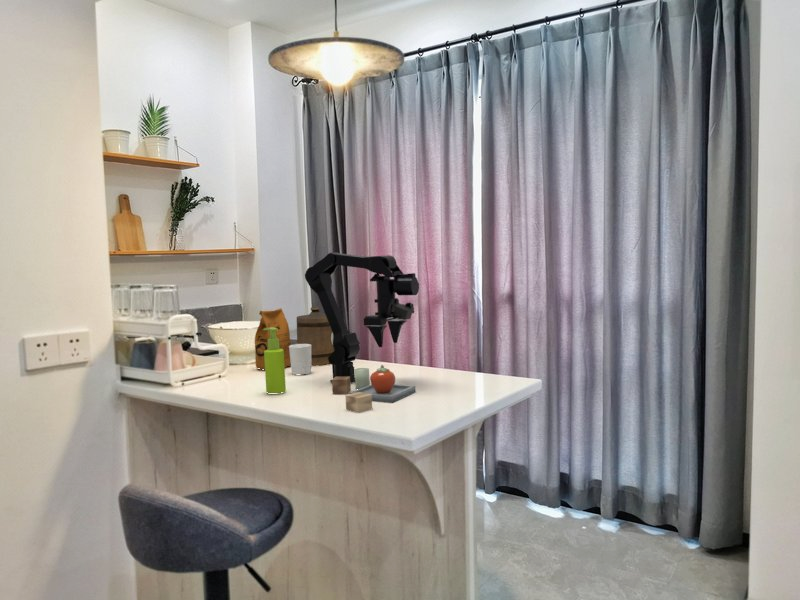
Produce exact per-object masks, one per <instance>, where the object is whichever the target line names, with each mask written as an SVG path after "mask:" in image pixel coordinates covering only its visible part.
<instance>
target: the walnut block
mask: <svg viewBox="0 0 800 600" xmlns="http://www.w3.org/2000/svg"><path fill="white" fill-rule="evenodd" d="M331 380H332V382H331V387H332V388H331V389H332V390H331V391H332V395H349V394H350V392H352V389H351V386H352V385H351V382H350V377H335V378H333V377H332V379H331Z"/></svg>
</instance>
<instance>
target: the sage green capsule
mask: <svg viewBox="0 0 800 600" xmlns="http://www.w3.org/2000/svg"><path fill="white" fill-rule="evenodd" d="M354 372H355V380H354V383H355V386H354V387H355V390H357V389H360V388H363V387H365V386H368V385H371V382H370V368H367V367H357V368H354Z"/></svg>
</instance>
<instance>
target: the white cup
mask: <svg viewBox="0 0 800 600" xmlns="http://www.w3.org/2000/svg"><path fill="white" fill-rule="evenodd" d="M289 353H290V363H291V366H290V368H291V369H290V370H291V375H293V374H306V375H310V374H312V366H311V357H312V356H311V344H297V343H295V344H291V345H290V346H289ZM309 373H310V374H309Z"/></svg>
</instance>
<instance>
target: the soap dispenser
mask: <svg viewBox="0 0 800 600" xmlns="http://www.w3.org/2000/svg"><path fill="white" fill-rule="evenodd" d="M263 330H270V338H269V339H268V350H265V351H264V359H265V370H264V372H265V376H264V377H265V391H266V392H268V393H281V392H285V391H286V392H287V389H286V388H287V387H286V385H287V384H286V371H285V370H286V368H285V366H284V350H283V349H279V339H278V338H276V331H277V330H278V328H274V327H270V328H264V329H263ZM286 392H285V393H286Z"/></svg>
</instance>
